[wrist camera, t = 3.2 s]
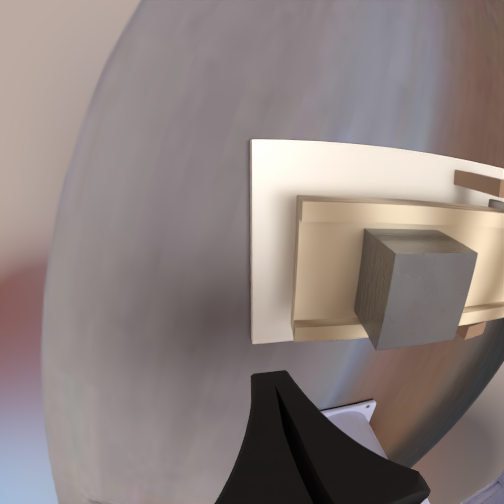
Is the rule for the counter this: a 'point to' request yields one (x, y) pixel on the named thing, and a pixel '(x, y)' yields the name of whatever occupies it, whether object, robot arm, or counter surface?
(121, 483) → the counter surface
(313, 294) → the balance beam
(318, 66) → the counter surface
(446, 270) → the block
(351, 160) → the beam stand
